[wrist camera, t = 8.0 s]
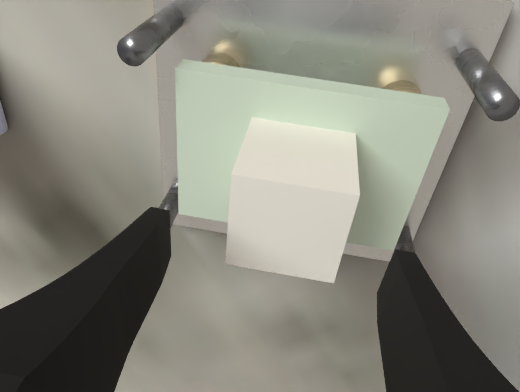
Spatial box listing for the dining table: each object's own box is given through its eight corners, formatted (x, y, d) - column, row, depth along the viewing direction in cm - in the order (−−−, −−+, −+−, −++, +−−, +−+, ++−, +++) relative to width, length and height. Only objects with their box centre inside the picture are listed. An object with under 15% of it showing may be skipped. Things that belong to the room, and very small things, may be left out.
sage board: (184, 201, 21) (148, 277, 17) (182, 59, 16) (133, 115, 13) (391, 236, 20) (404, 323, 16) (444, 98, 16) (480, 170, 12)
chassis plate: (169, 212, 26) (135, 279, 22) (159, -50, 18) (99, -27, 13) (400, 251, 25) (413, 330, 21) (506, -3, 17) (565, 38, 12)
